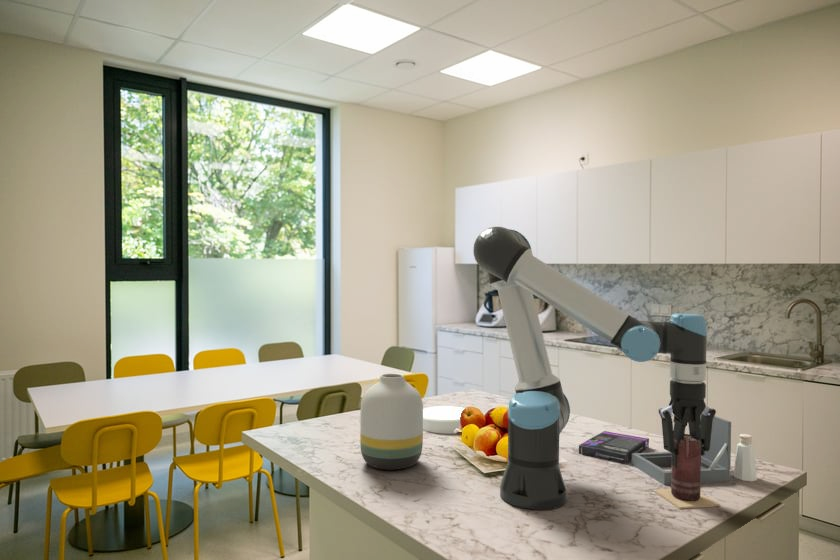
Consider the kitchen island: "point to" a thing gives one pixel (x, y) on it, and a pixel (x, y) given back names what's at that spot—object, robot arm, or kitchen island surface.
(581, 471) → the kitchen island surface
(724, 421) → the case
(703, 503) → the mat
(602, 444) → the box
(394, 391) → the vase
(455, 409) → the container
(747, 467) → the salt shaker
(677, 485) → the can
